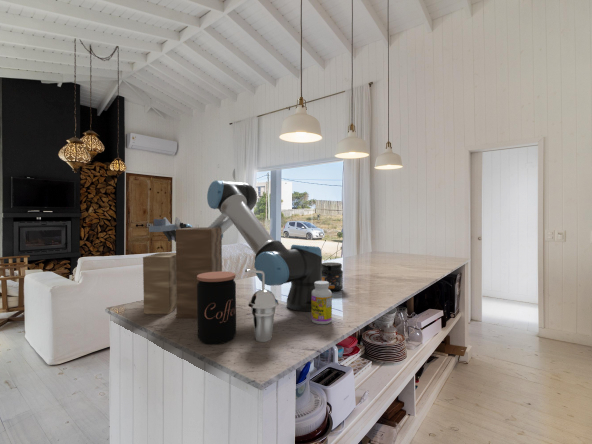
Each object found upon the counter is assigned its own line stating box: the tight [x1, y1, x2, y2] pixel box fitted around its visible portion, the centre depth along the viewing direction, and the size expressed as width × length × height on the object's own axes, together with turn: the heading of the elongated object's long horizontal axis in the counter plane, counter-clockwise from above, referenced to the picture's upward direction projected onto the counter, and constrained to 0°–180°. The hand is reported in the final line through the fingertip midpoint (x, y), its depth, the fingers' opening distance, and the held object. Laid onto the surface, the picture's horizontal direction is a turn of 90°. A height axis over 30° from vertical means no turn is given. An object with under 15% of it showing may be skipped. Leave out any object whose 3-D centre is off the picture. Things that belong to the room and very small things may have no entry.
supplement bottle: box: [310, 281, 333, 325], centre depth 105 cm, size 7×7×13 cm
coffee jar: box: [196, 271, 237, 345], centre depth 91 cm, size 11×11×18 cm
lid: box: [148, 218, 178, 233], centre depth 123 cm, size 20×4×4 cm, turn 179°
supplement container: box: [322, 261, 344, 293], centre depth 149 cm, size 10×10×12 cm
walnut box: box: [175, 226, 223, 319], centre depth 116 cm, size 14×12×30 cm
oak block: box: [142, 252, 177, 315], centre depth 120 cm, size 14×9×20 cm, turn 179°
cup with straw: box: [244, 269, 279, 343], centre depth 91 cm, size 8×9×20 cm
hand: (170, 220), depth 127 cm, fingers closed on lid, 4 cm apart
